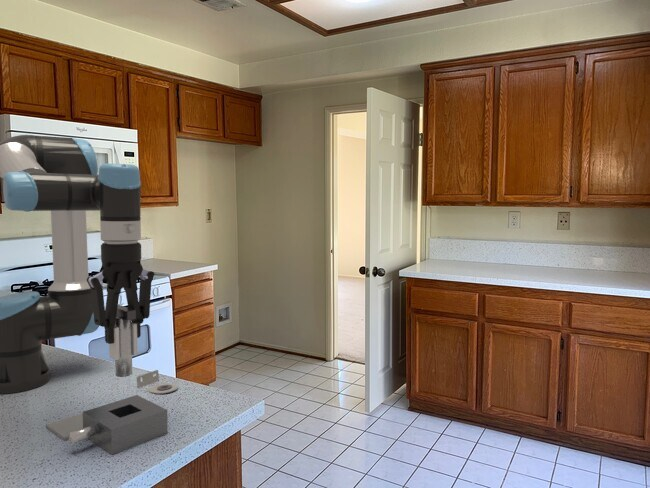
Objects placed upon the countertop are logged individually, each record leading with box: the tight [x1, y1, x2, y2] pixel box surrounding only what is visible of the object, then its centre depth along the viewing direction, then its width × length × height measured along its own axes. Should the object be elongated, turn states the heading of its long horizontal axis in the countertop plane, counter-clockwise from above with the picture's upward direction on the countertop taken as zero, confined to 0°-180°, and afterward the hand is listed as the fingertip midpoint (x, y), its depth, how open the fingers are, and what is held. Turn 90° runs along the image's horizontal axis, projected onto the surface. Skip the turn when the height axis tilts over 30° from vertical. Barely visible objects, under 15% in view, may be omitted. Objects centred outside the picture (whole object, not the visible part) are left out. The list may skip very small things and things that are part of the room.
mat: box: [45, 412, 83, 441], centre depth 108 cm, size 9×9×1 cm
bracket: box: [136, 369, 179, 395], centre depth 130 cm, size 7×10×4 cm, turn 57°
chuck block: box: [68, 394, 169, 455], centre depth 103 cm, size 12×17×5 cm
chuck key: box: [114, 304, 136, 378], centre depth 103 cm, size 7×3×14 cm, turn 50°
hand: (123, 355), depth 103 cm, fingers closed on chuck key, 3 cm apart
